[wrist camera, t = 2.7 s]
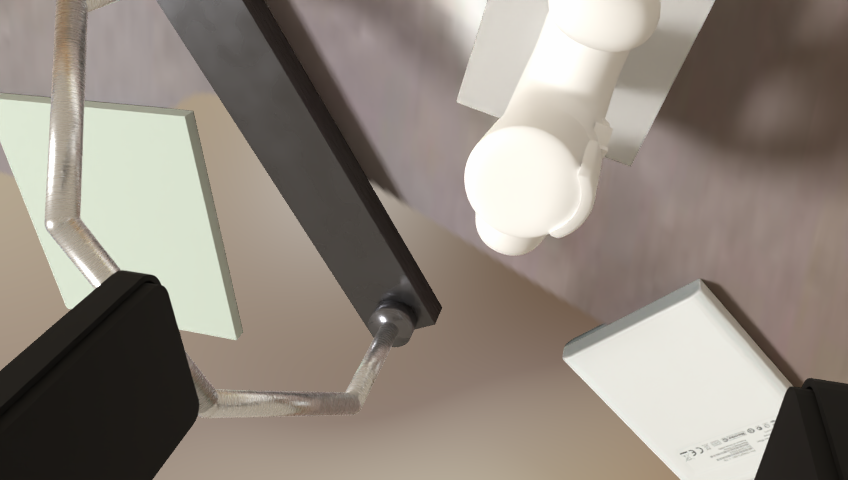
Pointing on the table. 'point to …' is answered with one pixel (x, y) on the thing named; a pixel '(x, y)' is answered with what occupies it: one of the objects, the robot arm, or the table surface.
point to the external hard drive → (686, 383)
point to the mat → (132, 203)
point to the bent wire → (286, 165)
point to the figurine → (564, 105)
